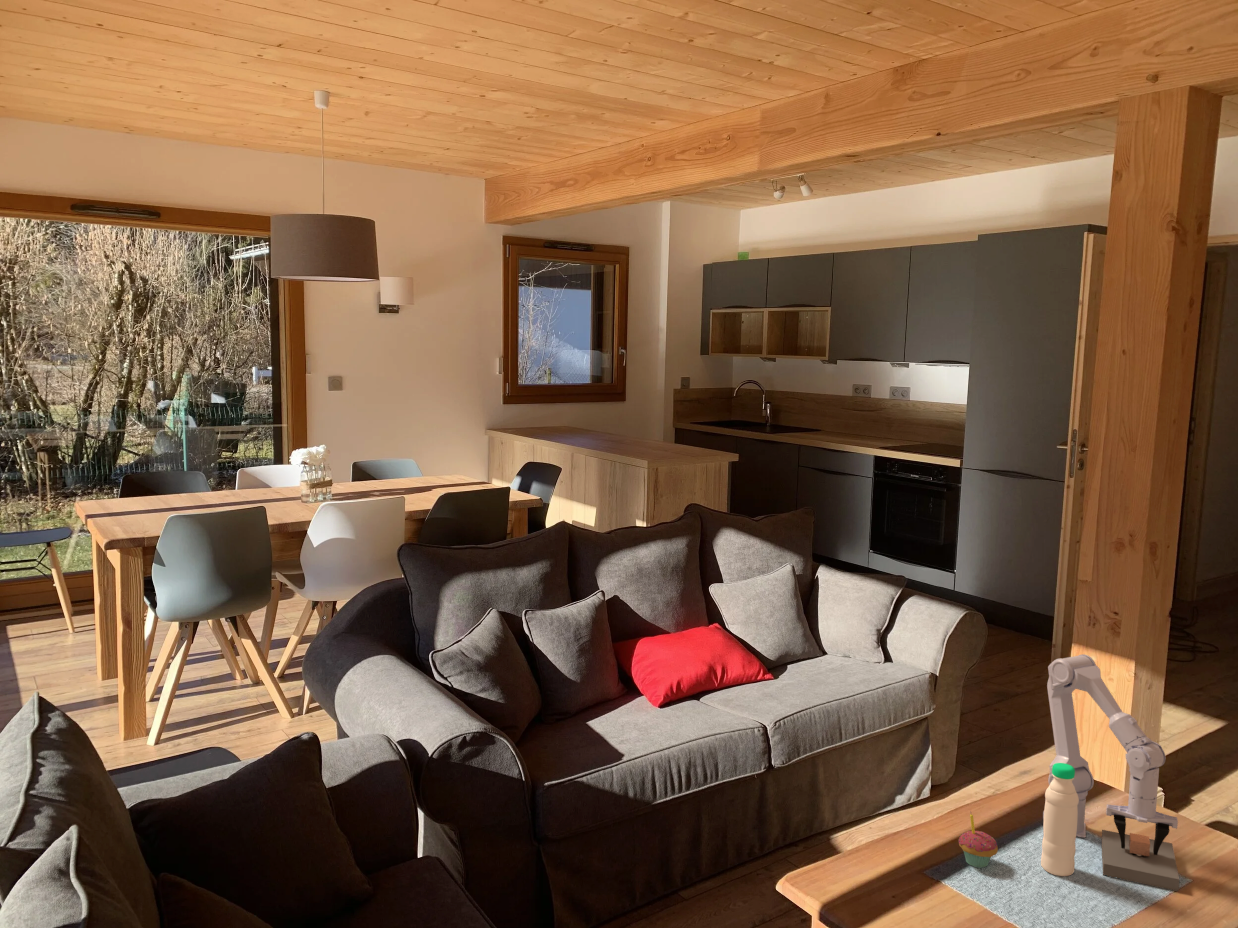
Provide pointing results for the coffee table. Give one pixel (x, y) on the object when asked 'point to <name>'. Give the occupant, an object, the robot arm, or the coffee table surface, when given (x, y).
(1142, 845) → the orange rectangular block
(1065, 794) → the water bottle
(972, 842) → the cupcake
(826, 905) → the coffee table surface
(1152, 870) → the base
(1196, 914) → the coffee table surface
